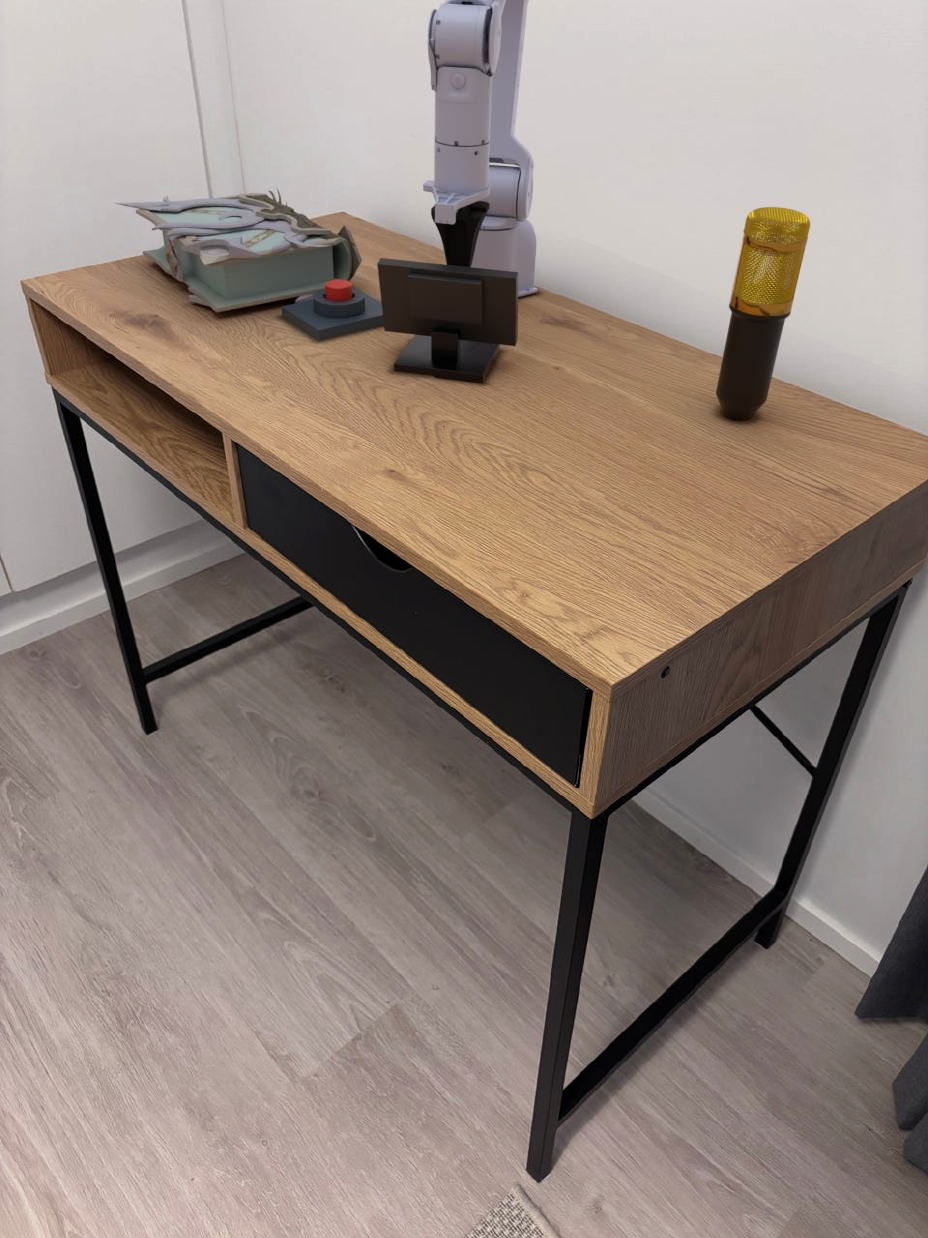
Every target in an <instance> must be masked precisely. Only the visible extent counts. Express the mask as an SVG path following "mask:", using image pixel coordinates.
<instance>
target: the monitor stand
mask: <svg viewBox="0 0 928 1238" xmlns="http://www.w3.org/2000/svg"><path fill="white" fill-rule="evenodd" d="M500 351H501V345H500V344H491V343H482V342H474V341H465V340H461V330H455V329H446V328H437V327H434V329H433V330H432V332H431V336H422V335H413V337H412V338H411V340H410V341H409V343H408V344H407V345H406V346H405V348H404V349H403V351H402V352H401V353H400V355H399V356H398V357H397V359H396V360H395V362H394V363H393V372H398V373H404V374H413V375H421V376H429V377H430V376H431V377H434V378H437V379H439V378H440V379H447V380H455V381H463V382H471V383H479V384H480V383H481V384H484V382H485V380H486V378H487V376H488V374H489V372H490V370H491V368H492V367H493V365H494V363H495V361H496V358H497V357H498V355H499V353H500Z"/></svg>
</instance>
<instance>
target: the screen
mask: <svg viewBox="0 0 928 1238" xmlns="http://www.w3.org/2000/svg"><path fill="white" fill-rule="evenodd" d="M376 264H377V265H376V266H377V273H378V283H379V291H380V292H379V293H380V300H381V301H380V302H381V303H382V312H383V321H384V325H383V330H384V332H387V333H388V332H390V333H398V334H406V335H413V336H415V335H422V336H431V332H432V330H433V329H434V327H437V328H446V329H455V330H461V340H465V341H474V342H482V343H491V344H500V346H509V347H516V345H517V343H518V338H519V337H518V333H519V331H518V330H519V327H518V326H519V297H518V272H512V271H502V270H492V269H483V268H473V267H464V266H454V265H447V264H443V263H434V262H425V261H414V260H405V259H395V258H385V257H380V258H379V259H378V261H377V263H376Z"/></svg>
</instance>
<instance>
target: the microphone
mask: <svg viewBox="0 0 928 1238" xmlns="http://www.w3.org/2000/svg"><path fill="white" fill-rule="evenodd" d="M810 228H811V220H810V218H809V217H808V215H806V214H805V213H803V212H801V211H798V210H796V209H791V208H787V207H779V206H778V207H777V206H764V207H758V208H755V209H753V210H751V211H750V212H749V213H748V214H747V216H746V219H745V224H744V229H743V231H742V236H741V241H740V247H739V252H738V257H737V263H736V267H735V272H734V278H733V282H732V283H733V284H732V288H731V293H730V298H729V303H728V309H729V310H730V311H731V313H730V318H729V324H728V328H727V334H726V339H725V344H724V349H723V353H722V359H721V365H720V370H719V373H718V374H719V375H718V380H717V384H716V391H715V395H716V398H717V400H718V403H719V405H720V408H721V410H722V413H723V415H724V416H725V417H727V418H729V419H731V420H734V421H747V420H749V419H750V418H751V417H753V415H755V413H756V412H758V410H759V409H760V408H761V407H762V406H763V405H764V404H766V402H767V399H768V395H769V391H770V386H771V383H772V378H773V373H774V369H775V365H776V360H777V356H778V351H779V347H780V343H781V340H782V339H781V338H782V335H783V330H784V325H785V321H786V319H787V318H788V317H790V315H791V313H792V309H793V305H794V300H795V294H796V290H797V286H798V280H799V276H800V272H801V269H802V263H803V260H804V256H805V250H806V247H807V244H808V239H809V233H810Z"/></svg>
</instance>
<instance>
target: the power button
mask: <svg viewBox="0 0 928 1238" xmlns="http://www.w3.org/2000/svg"><path fill="white" fill-rule="evenodd" d="M352 288H353V283H352V282H351V280H350V281H347V280H342V279H335V280H330V281H327V282H326V283H325V296H326V299H327V300H330V301H347V300H351V299H352Z"/></svg>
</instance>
